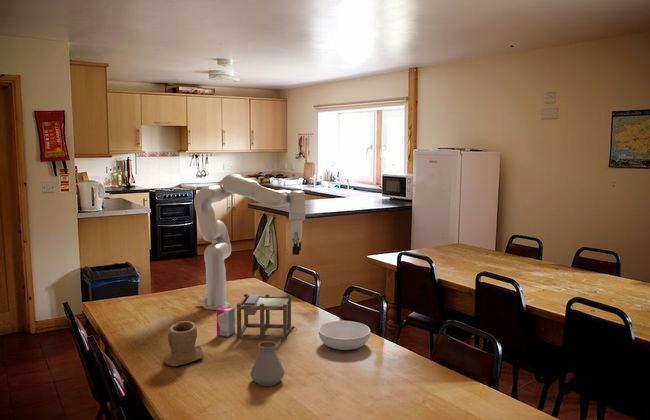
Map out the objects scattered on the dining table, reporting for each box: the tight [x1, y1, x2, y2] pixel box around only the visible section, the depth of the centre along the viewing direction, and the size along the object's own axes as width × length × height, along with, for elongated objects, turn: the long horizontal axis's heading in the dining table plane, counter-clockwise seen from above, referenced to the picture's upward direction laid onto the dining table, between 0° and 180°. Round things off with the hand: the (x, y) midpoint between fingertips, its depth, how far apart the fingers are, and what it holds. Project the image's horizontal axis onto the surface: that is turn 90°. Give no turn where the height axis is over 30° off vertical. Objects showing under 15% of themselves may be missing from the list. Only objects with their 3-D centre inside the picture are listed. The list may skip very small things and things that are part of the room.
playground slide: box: [245, 294, 289, 316], centre depth 226 cm, size 17×13×5 cm
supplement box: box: [215, 306, 236, 338], centre depth 224 cm, size 6×6×12 cm
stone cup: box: [162, 320, 205, 367], centre depth 195 cm, size 15×12×15 cm
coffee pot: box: [250, 326, 298, 387], centre depth 183 cm, size 21×12×15 cm, turn 147°
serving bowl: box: [317, 320, 371, 351], centre depth 213 cm, size 21×21×7 cm
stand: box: [236, 293, 292, 340], centre depth 227 cm, size 21×16×14 cm
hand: (296, 252), depth 253 cm, fingers open, 9 cm apart
